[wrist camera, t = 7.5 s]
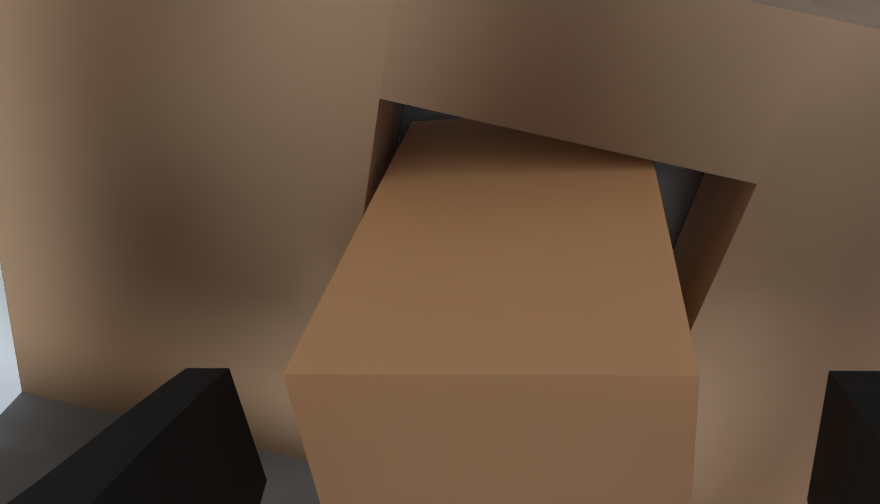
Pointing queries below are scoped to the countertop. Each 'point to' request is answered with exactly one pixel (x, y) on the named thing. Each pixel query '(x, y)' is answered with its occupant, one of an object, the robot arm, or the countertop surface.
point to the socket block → (363, 167)
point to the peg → (502, 332)
